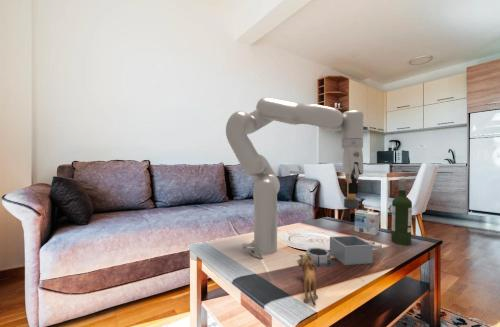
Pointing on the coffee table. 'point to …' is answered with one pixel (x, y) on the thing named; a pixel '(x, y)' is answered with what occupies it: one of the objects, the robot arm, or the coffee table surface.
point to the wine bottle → (401, 216)
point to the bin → (351, 250)
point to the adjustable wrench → (375, 245)
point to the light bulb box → (367, 222)
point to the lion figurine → (308, 276)
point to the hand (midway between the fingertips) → (351, 192)
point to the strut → (350, 198)
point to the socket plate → (320, 257)
